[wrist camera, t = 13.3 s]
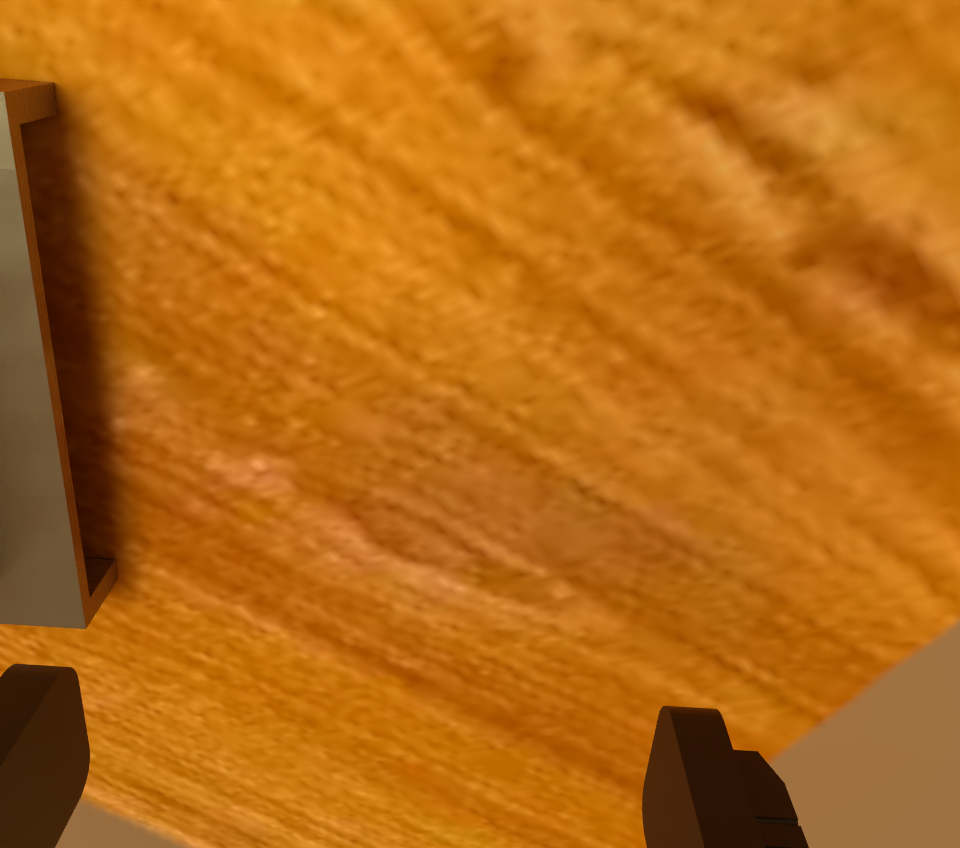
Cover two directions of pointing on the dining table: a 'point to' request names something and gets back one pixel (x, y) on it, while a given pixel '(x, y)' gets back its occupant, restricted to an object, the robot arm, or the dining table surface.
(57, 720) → the robot arm
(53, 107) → the slotted board
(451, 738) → the dining table surface
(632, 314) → the dining table surface
